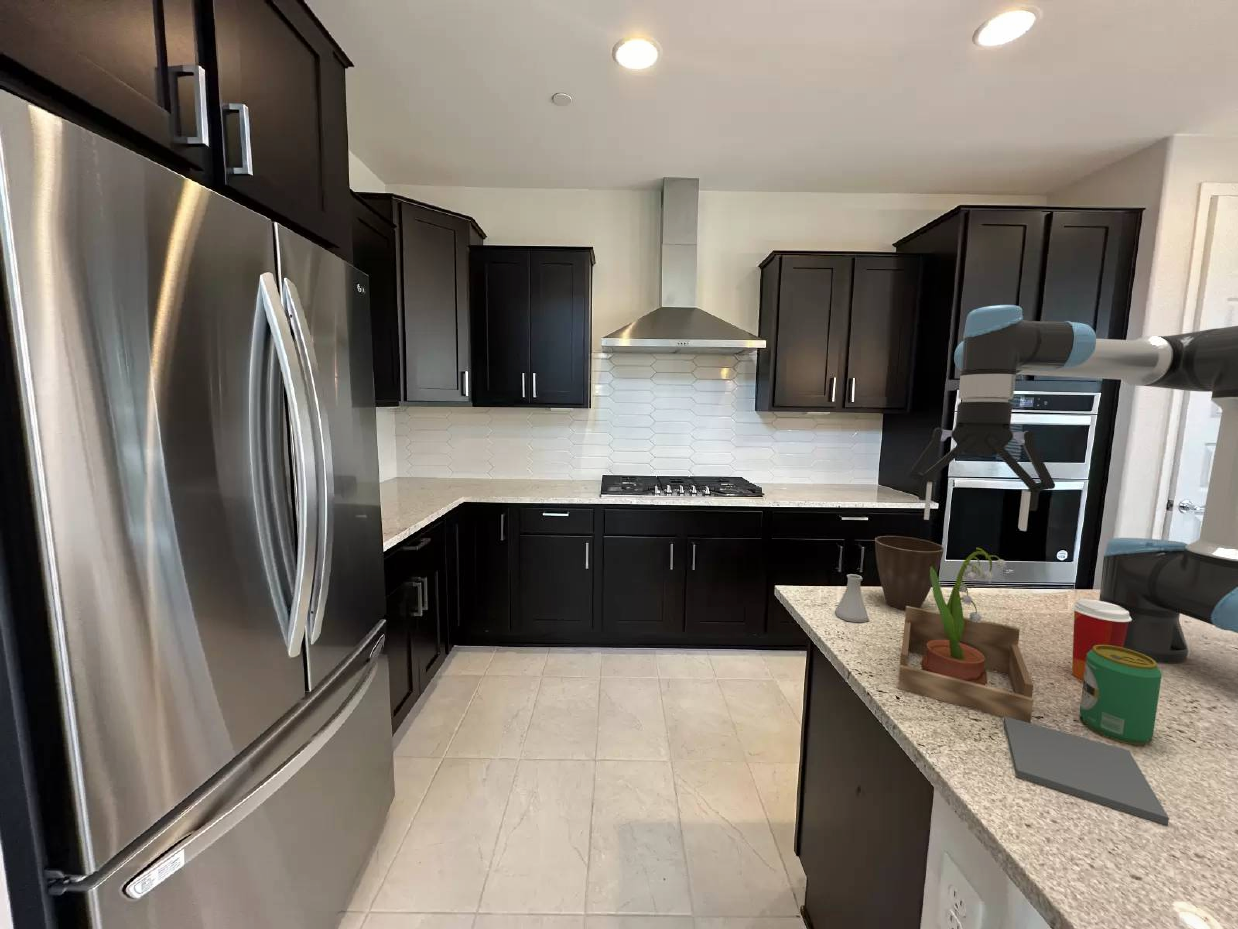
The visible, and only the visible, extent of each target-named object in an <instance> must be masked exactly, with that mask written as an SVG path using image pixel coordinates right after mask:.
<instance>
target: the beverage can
mask: <svg viewBox="0 0 1238 929" xmlns="http://www.w3.org/2000/svg"><path fill="white" fill-rule="evenodd" d="M1162 677H1163V674H1162V671H1161V670H1160V668H1159V667H1158V662H1156V661H1154V660H1153V659H1152V658H1150V657H1148V656H1146V655H1144V654H1141V653H1138V652H1136V651H1132V650H1129V649H1126V648H1121V647H1117V646H1111V645H1095V646H1093V649H1092V650H1090V651H1089V652H1088V653H1087V656H1086V664H1085V672H1084V680H1083V681H1082V689H1081V695H1080V696H1081V698H1080V704H1079V712H1078V713H1079V715H1080V716H1081V718H1082V722H1083V723H1084V725H1085V726H1087V727H1088V728H1089V729H1090V730H1092V731H1093V732H1096V733H1097V734H1099V735H1101V736H1103V737H1105V738H1108V739H1110V738H1111V740H1113V739H1114V741H1116V740H1117V742H1120V743H1125V744H1129V745H1136V746H1139V745H1140V746H1141V745H1145V743H1146V744H1147V743H1148V741H1149V740H1151V739H1152V738H1153V737H1154V731H1155V724H1156V718H1157V717H1156V716H1157V712H1158V704H1159V696H1160V689H1161V683H1162V682H1161V681H1162Z"/></svg>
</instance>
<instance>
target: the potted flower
mask: <svg viewBox="0 0 1238 929" xmlns="http://www.w3.org/2000/svg"><path fill="white" fill-rule="evenodd" d="M975 549H976V551H973V552H972V553H971V554H970V555H968V557H966V559H965V560H964V561H963V563H962V565H961V567H960V569H959V571H958V574H957V576H956V580H955V584H954V586H953V587H952V590H951V592H950V596H949V599H948V602H947V603H946V601H945V599H944V596H943V592H942V588H941V585H940V582H939V578H938V573H937V574H936V572H935V571H934V569H933V568H932V566H931V568H930V577H931V582H932V587H931V589H932V593H933V598H934V601H935V604H936V606H937V610H938V612H940V615H941V619H942V622H943V625H944V631H945V633H946V635H947V637H948V639H949V641H948V640H932V641H929V642H928V643H927V644H926V646H927V652H926V653H925V654H924V655H923V654H922V658H921V660H920V661H921V662H920V667H921V670H925V671H929V672H933V673H937V674H941V675H945V676H949V677H953V678H956V679H960V680H964V681H968V682H972V683H976V684H980V685H984V686H987V684H988V672H987V670H986V669H985V668H984V661H985V657H984V656H983V654H982V653H981V652H979V651H978V650H976V649H974V648H972V647H970V646H967V645H964V644H961V643H959V641H960V639H961V635H962V631H963V627H964V619H963V617H964V612H963V604H962V603H964V604H966V605H972V604H973V607H974V609H975V611H972V612H971V613H970V614H969V618H970V619H969V620H972V621H973V622H978V623H980V620H982V616H981V614H980V613H979V612H978V611H977V610H978V609H977V607H976V604H975V602H974V601H973V599H972V597H971V596H969V590H968V586H967V585H966V584H965V583H964V582H963V577H965V578H967V579H966V580H967V581H970V582H974V581H975V582H976V581H977V576H979V577H978V578H979V579H981V580H983V581H985V582H988V583H990V584H992V580H994V574H993V573H992V568H993V561H992V558H993V557H995V558H997V559H998V560H996V562H995V565H996V568H997V569H999V568H1000V569H1004V568H1008V567H1007V565H1006V564H1007V563H1006V561H1005V560H1004V559H1001V558H1000V557H998V556H997V555H995V554H994V555H993V554H992V555H990V554H988V553H987V552H986V551H984V550H983V549H982V548H980V547H976V548H975ZM977 555H983V556H985V560H988V562H989V565H990V566H989V570H985V571H984V570H983V568H982V567H981V562H980V559H979V558H978V557H977ZM991 557H992V558H991ZM972 559H975V560H977V562H978V565H974V564H972V563H971V560H972ZM967 566H971V570H970V569H969V568H968V567H967ZM960 592H961V593H965V595H963V596H962V597H961V595H960ZM971 603H972V604H971Z"/></svg>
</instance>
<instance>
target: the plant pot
mask: <svg viewBox="0 0 1238 929" xmlns="http://www.w3.org/2000/svg"><path fill="white" fill-rule="evenodd" d="M874 546H875V556H876V564H877V571H878V576H879V577H878V578H879V581H880V585H881V589H882V592H883V596H884V598H885V602H886V603H887V604H888V605H889V606H891V607H894V608H897V609H900V610H905V609H906V606H910V607H915V608H920V609H921V607H922V605H923V603H924V602H925V600H926V599H927V597H928V594H929V593H930V590H931V589H932V582H931V577H930V568H931V566H932V568H933V569H934V571H935V572H936V574H937V575H938V571H939V569H940V565H941V562H942V559H943V558H942V557H943V555H944V551H945V547H944V546H943V545H941V544H938V543H935V542H933V541H931V540H930V541H929V540H926V539H919V538H915V537H908V536H898V535H885V536H884V535H883V536H881V535H880V536H877V537H875V539H874Z"/></svg>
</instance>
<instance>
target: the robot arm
mask: <svg viewBox="0 0 1238 929" xmlns="http://www.w3.org/2000/svg"><path fill="white" fill-rule="evenodd" d="M962 338H963V340H962V341H961V342H959V344H958V345H957V346H956V348H955V351H954V355H953V356H954V357H953V360H954V364H955V366H956V368H957V369H958V370H959V371H960V378H959V387H958V395H957V397H958V399H960V400H961V402H959V403H958V404H957V409H956V418H955V427H954V428H953V430H948V429H942V428H940V427H937V428H935V429H934V431H933V434H932V439H931V441H930V443H929V444H928V445H927V447H926V449H925V450H924V451H923V452H922V454H921V455H920V457H919V458H918V460H917V461H916V463H915V464H914V465H913V466H912V468H911V469H910V471H909V472H908V477H909V478H910V479H913V480H915V481H918V483H919V484H918V485H919V488H918V500H919V501H925V502H924V503H925V504H924V515H923V516H924V517H923V520H925V521H926V520H927V521H929V520H930V513H931V512H930V509H931V501H932V490H933V488H932V487H933V482H930V481H929V480H931V479H933V477H934V476H936V475H937V474H938V473H939V472H940V471H942V470H943V469H944V468H945V467H946V466H948V465H949V464H950V463H951V462H952V461H954V460H955V459H956V458H957V457H959V456H961V454H962V453H964V454H965V455H967V456H980V455H981V456H984V457H993V456H996V455H998V456H999V457H1000V459H1001V460H1002V461H1003V462H1004V463H1005V464H1006V465H1007V466H1008V467H1009V468H1010V469H1011V471H1012V472H1013V473H1014V474H1015V475H1016V477H1018V478H1019V480H1021V481H1022V483H1023V484H1024V485H1025V486H1026V487H1027V488H1028V489H1021V496H1020V497H1021V498H1020V507H1019V517H1018V525H1017V527H1018V529H1019V531H1023V532H1026V531H1028V530H1027V529H1028V518H1029V512H1036V511H1037V510H1038V506H1039V498H1040V493H1041V492H1042V491H1045V490H1047V491H1048V490H1052V489H1055V487H1056V484H1055V482H1054V480H1053V477H1052V476H1051V474H1050V472H1049V470H1048V468H1047V466H1046V464H1045V462H1044V460H1043V458H1042V457H1041V454H1040V453H1039V451H1038V449H1037V446H1036V445H1035V444H1036V443H1035V433H1034V432H1033V431H1030V430H1024V431H1020V432H1018V431H1017V432H1013V431H1012V430H1011V422H1012V413H1013V404H1012V403H1011V402H1009V400H1011V399H1013V398H1014V395H1015V394H1014V393H1015V384H1016V375H1025V376H1026V375H1027V376H1028V375H1029V376H1042V377H1043V376H1044V377H1046V376H1048V377H1064V378H1083V379H1084V378H1085V379H1100V380H1101V379H1105V380H1106V379H1107V380H1122V381H1123V382H1125V383H1126V384H1129V385H1132V386H1137V387H1150V388H1151V387H1153V388H1160V389H1170V390H1178V391H1189V392H1203V393H1204V392H1207V393H1208V392H1212V393H1211V397H1210V400H1211V402H1213V403H1214V404H1215V405H1216V406H1218V407H1219V408H1220V409H1221V410H1222V411H1221V416H1220V421H1219V427H1218V432H1217V438H1216V443H1215V447H1214V448H1215V450H1214V456H1213V459H1212V466H1211V471H1210V476H1209V483H1208V488H1207V493H1206V500H1205V505H1204V510H1203V516H1202V522H1201V527H1200V532H1199V533H1200V534H1199V538H1198V539H1197V540H1196V541H1194V542H1191V543H1189V544H1188V543H1186V542H1183V541H1175V540H1167V539H1166V540H1165V539H1158V538H1157V539H1156V538H1154V539H1153V538H1145V537H1143V538H1142V537H1141V538H1139V537H1115V538H1111V539H1110V540H1108V541H1107V543H1106V547H1105V551H1104V554H1103V562H1102V573H1101V580H1100V581H1101V582H1100V590H1099V599H1098V601H1103V602H1107V603H1111V604H1115V605H1118V606H1120V607H1122V608H1124V609H1125V610H1127V611H1128V612H1129V616H1130V617H1131V619H1132V620H1131V621H1130V622H1128V627H1127V631H1126V636H1125V640H1124V645H1123V648H1126V649H1129V650H1132V651H1136V652H1138V653H1141V654H1144V655H1146V656H1148V657H1150V658H1152V659H1153V660H1154V661H1156V663H1163V664H1182V663H1183V664H1184V663H1185V662H1187V660H1188V653H1189V648H1188V644H1187V641H1186V638H1185V634H1184V631H1183V629H1182V624H1181V622H1180V616H1181V615H1183V616H1186V617H1189V618H1192V619H1194V620H1197V621H1201V622H1203V623H1206V624H1209V625H1212V626H1214V627H1215V628H1218V629H1220V630H1222V631H1229V632H1233V633H1236V634H1238V325H1234V326H1233V325H1232V326H1227V327H1220V328H1210V329H1204V330H1199V331H1197V330H1196V331H1193V332H1191V331H1190V332H1185V333H1180V334H1174V335H1173V334H1172V335H1163V336H1161V335H1159V336H1157V335H1146V336H1141V337H1139V338H1137V339H1134V340H1131V339H1127V340H1126V339H1113V338H1112V339H1111V338H1110V339H1109V338H1097V335H1096V332H1095V330H1094V329H1093V328H1092V327H1091V326H1090V325H1089V324H1086V323H1082V322H1073V321H1069V320H1065V321H1043V320H1041V321H1037V320H1024V316H1023V309H1022V307H1021V306H1019V305H1014V304H999V305H989V306H982V307H980V308H976V309H973V310H972V311H970V312H969V313H968V314H967V316H966V321H965V326H964V332H963V336H962ZM949 437H951V439H952V440H953V441H954V442H955V444H956V446H954V447H953V448H952V449H951V450H950V451H949V452H948V453H946V454H945V455H944V456H942V457H941V459H940V460H938V461H937V462H936V463H935V464H933V465H932V466H931V467H930V468H929V469H928V470H926V471H924V473H921V470H922V469H923V467H924V466H925V465H926V463H927V462H928V461H929V459H930V457H931V456H932V454H934V452H935V450H936V449H937V448H938V446H939V445H940V443H941V442H944V441H946V440H947V438H949ZM1013 439H1014V440H1016V442H1017V444H1018V445H1022V446H1023V449H1024V451H1025V453H1026V455H1027V457H1028V459H1029V462H1030V463H1031V465H1032V466H1033V469H1034V471H1035V472H1036V475H1037V476H1038V479H1039V480H1040V481H1038V482H1036V480H1034V478H1033V477H1032V476H1031V475H1029V474H1028V472H1027V471H1026V470H1025V469H1024V468H1023V466H1021V465H1020V463H1018V462H1017V460H1016V459H1015V458H1014V456H1012V455H1011V453H1010V452H1009V451H1008V450H1007V449H1006V448H1005V447H1006V446H1007V445H1008V444H1009V443H1010V442H1011V441H1012V440H1013Z"/></svg>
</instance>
